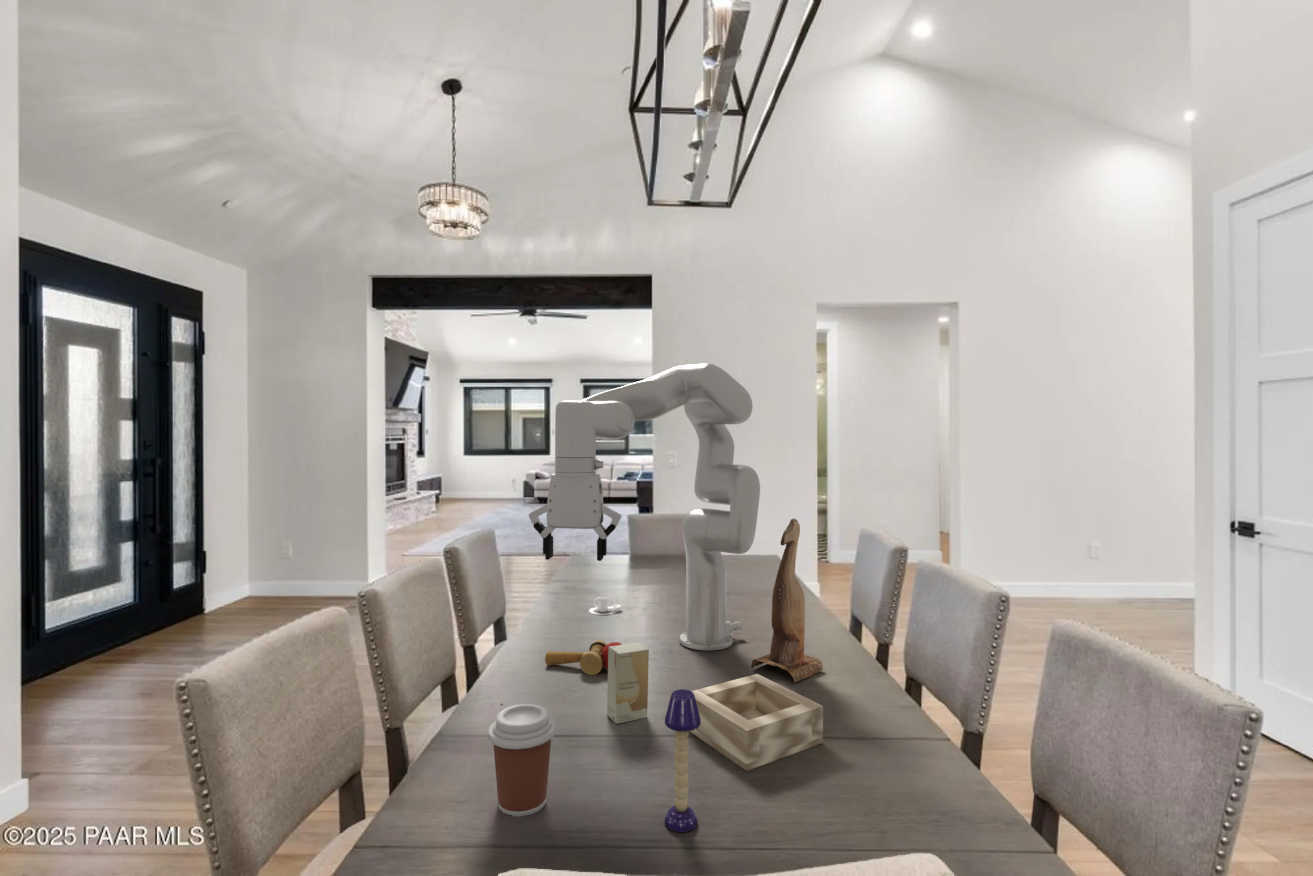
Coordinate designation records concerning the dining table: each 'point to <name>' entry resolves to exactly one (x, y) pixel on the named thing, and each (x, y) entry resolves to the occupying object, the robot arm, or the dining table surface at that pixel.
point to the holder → (757, 720)
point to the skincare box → (627, 682)
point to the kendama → (584, 657)
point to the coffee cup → (522, 757)
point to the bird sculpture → (789, 615)
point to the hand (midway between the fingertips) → (574, 558)
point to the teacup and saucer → (605, 606)
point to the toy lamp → (681, 757)
